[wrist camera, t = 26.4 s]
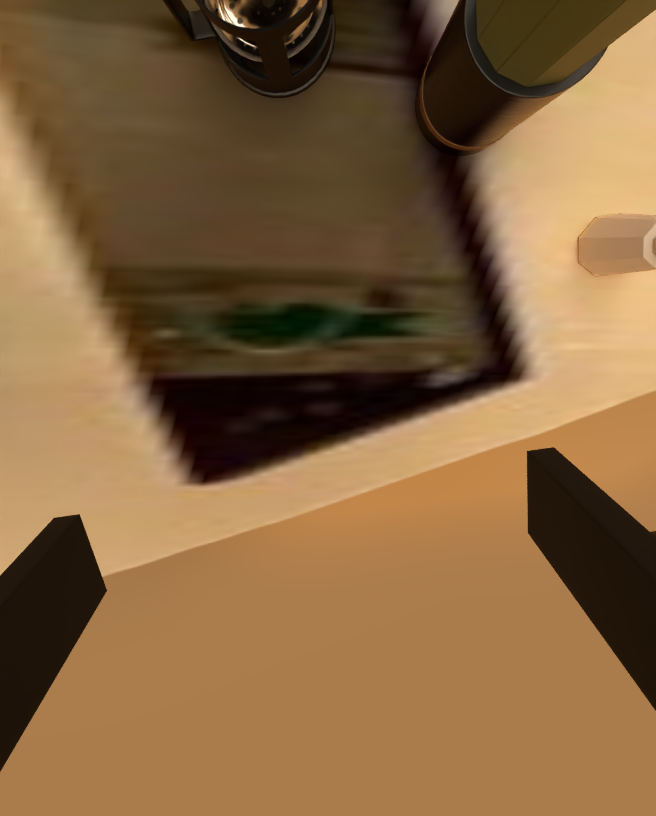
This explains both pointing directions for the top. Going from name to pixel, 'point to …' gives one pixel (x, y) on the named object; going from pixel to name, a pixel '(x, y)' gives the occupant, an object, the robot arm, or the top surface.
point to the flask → (476, 91)
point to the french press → (264, 38)
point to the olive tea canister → (551, 34)
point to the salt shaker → (619, 244)
